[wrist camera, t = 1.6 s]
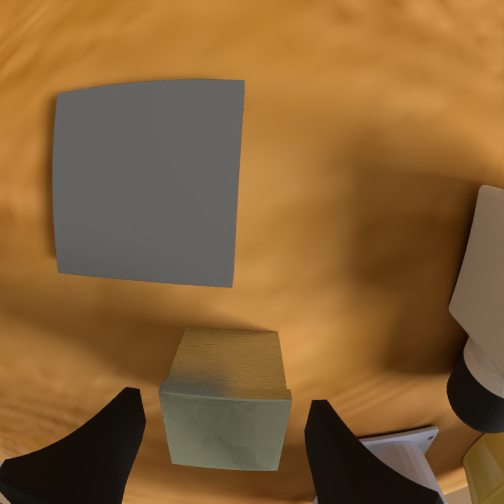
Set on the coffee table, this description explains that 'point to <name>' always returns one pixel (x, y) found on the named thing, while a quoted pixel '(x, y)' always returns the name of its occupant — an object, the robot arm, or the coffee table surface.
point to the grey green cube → (226, 400)
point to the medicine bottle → (481, 319)
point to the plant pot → (486, 469)
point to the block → (148, 180)
